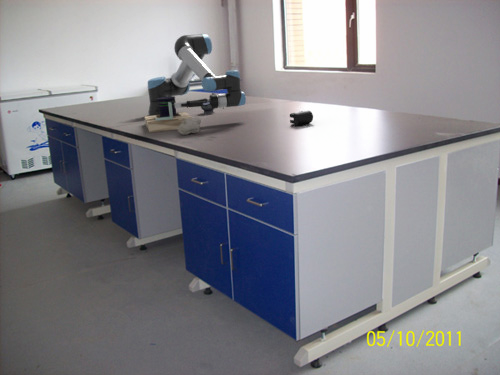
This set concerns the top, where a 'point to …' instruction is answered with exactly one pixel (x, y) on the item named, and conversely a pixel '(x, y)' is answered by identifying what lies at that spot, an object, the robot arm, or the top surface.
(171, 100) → the dark blue barrel
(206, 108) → the mortar and pestle
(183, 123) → the fossil replica
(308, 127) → the top surface
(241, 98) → the robot arm
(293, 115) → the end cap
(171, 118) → the cover
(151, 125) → the puzzle board
